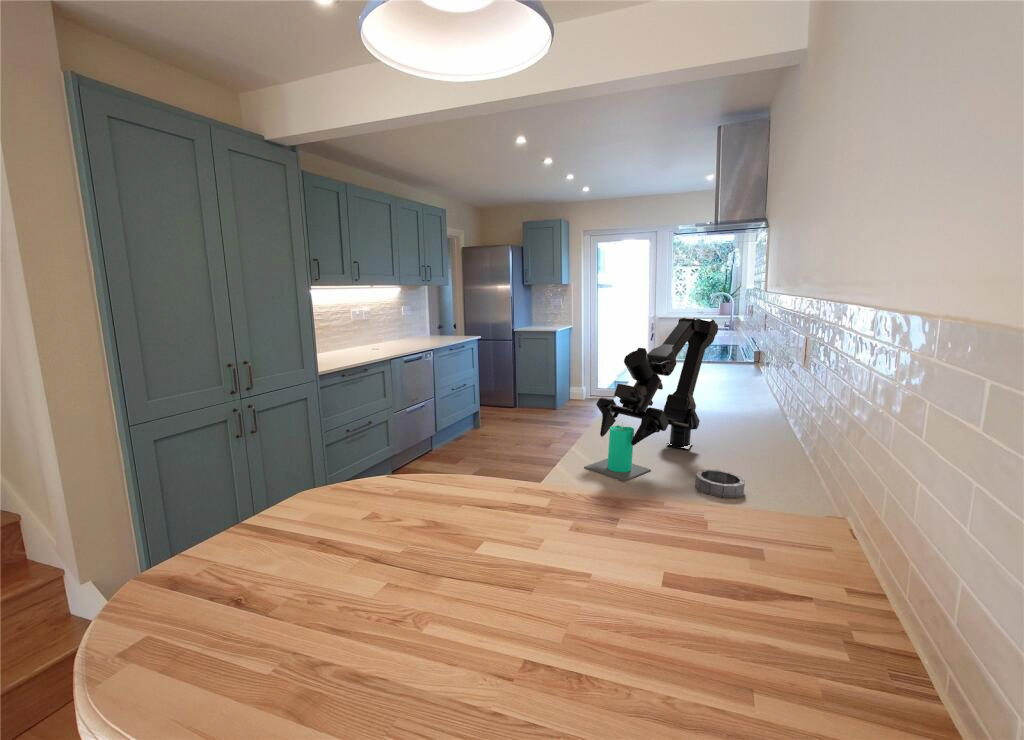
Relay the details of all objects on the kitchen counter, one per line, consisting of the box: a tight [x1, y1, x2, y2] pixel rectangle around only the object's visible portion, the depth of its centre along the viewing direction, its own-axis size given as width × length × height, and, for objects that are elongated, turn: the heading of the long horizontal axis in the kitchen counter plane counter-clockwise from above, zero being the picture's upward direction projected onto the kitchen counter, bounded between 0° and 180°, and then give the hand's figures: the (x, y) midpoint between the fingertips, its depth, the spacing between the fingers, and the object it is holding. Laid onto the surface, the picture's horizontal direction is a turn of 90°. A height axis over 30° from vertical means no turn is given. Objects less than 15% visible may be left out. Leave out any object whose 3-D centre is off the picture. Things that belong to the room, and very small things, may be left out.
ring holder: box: [694, 468, 746, 500], centre depth 112 cm, size 10×10×3 cm
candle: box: [607, 422, 635, 472], centre depth 122 cm, size 6×6×12 cm
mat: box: [583, 457, 652, 483], centre depth 123 cm, size 12×12×1 cm
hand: (616, 440), depth 121 cm, fingers open, 9 cm apart
